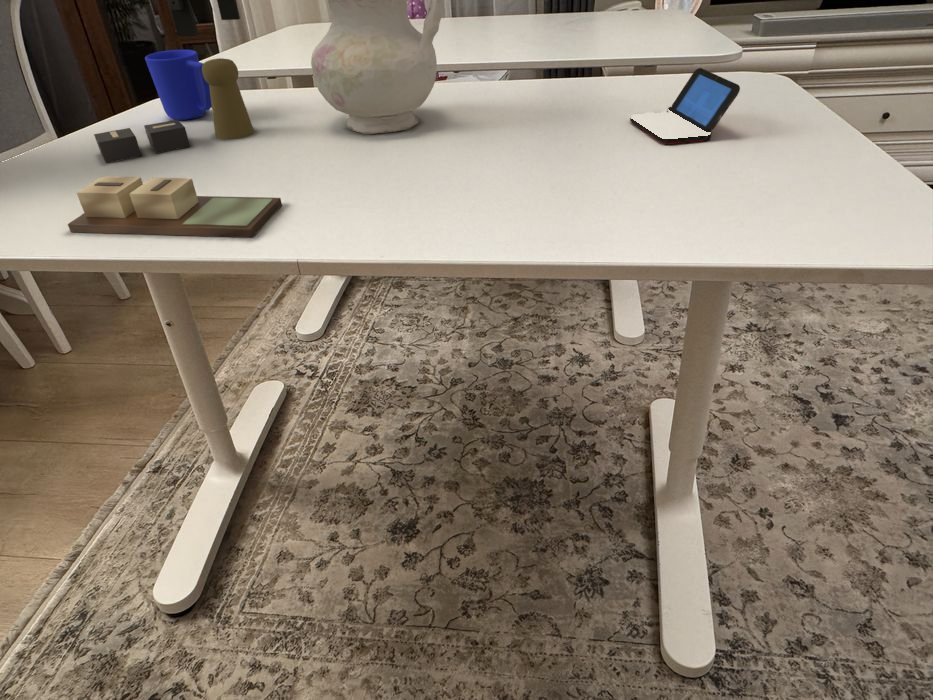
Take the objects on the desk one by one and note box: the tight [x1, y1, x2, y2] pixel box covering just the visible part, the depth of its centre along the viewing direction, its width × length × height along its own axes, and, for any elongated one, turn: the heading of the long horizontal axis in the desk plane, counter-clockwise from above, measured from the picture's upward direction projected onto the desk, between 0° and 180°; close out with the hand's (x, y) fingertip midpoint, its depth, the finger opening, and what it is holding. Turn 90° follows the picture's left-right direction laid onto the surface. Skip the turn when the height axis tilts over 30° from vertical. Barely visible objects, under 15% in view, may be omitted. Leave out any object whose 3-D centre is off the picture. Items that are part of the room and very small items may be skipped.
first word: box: [93, 119, 191, 164], centre depth 97 cm, size 5×12×3 cm, turn 122°
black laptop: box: [629, 67, 741, 145], centre depth 95 cm, size 12×11×7 cm
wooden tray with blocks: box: [67, 176, 283, 238], centre depth 75 cm, size 22×9×4 cm, turn 82°
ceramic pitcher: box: [310, 0, 445, 136], centre depth 98 cm, size 22×20×25 cm
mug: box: [144, 49, 212, 121], centre depth 109 cm, size 8×12×10 cm
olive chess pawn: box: [202, 58, 255, 140], centre depth 100 cm, size 6×6×11 cm
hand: (211, 27), depth 94 cm, fingers open, 13 cm apart
